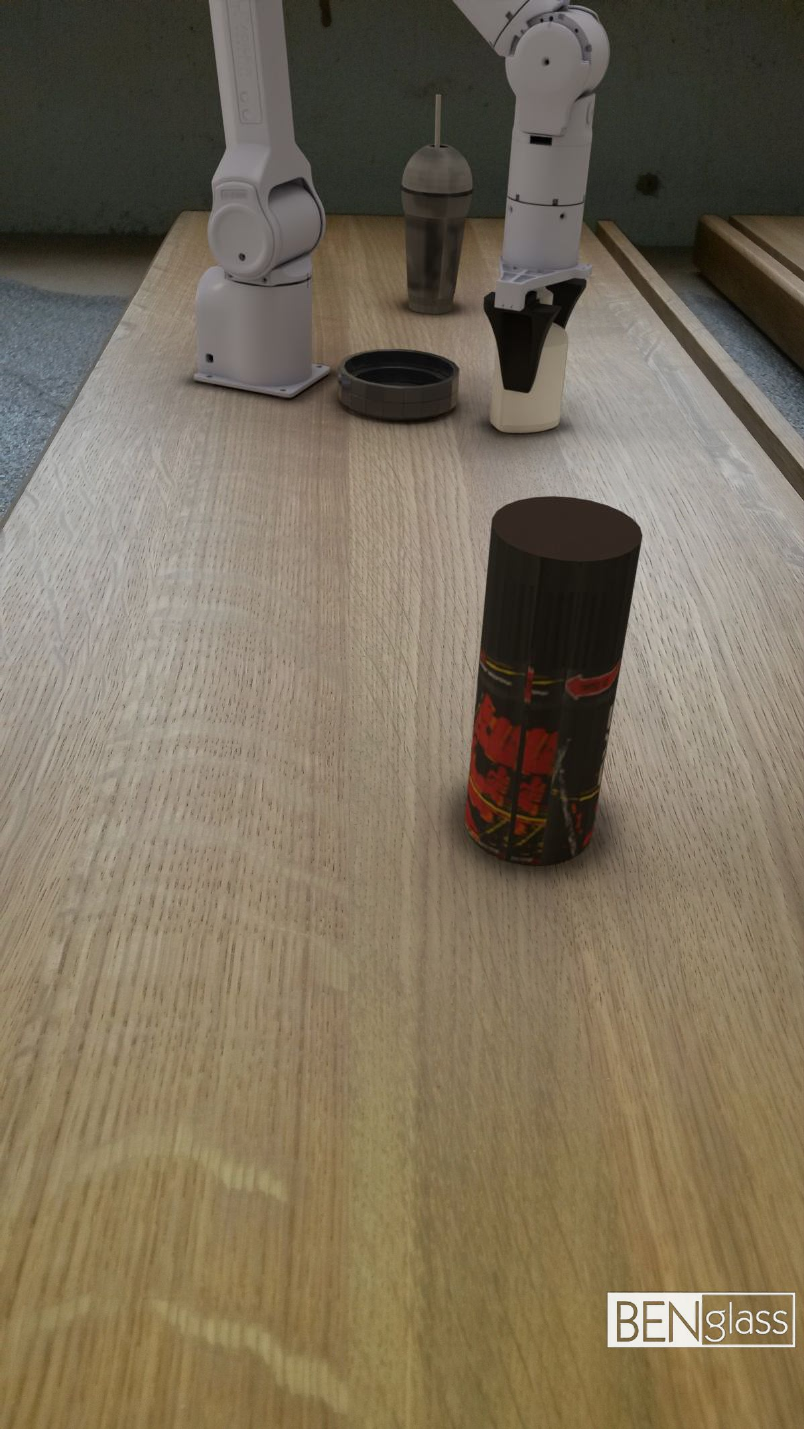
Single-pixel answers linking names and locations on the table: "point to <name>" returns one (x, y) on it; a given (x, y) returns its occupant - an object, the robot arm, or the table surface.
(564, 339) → the eye dropper bottle
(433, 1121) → the table surface
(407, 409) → the dish
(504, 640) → the deodorant
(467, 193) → the beverage cup
